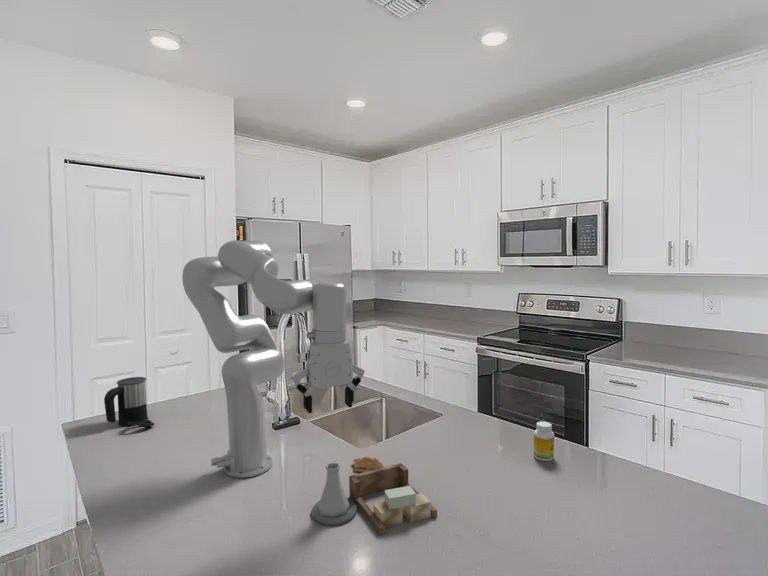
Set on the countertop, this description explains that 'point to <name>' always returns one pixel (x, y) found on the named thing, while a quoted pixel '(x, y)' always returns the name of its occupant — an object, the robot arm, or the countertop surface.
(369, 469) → the shard
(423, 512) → the birch offcut block
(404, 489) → the sage painted offcut block
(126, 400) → the milk frother
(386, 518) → the oak offcut block
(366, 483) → the walnut rack
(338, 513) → the flask
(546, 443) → the supplement bottle
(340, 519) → the disc
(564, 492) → the countertop surface
